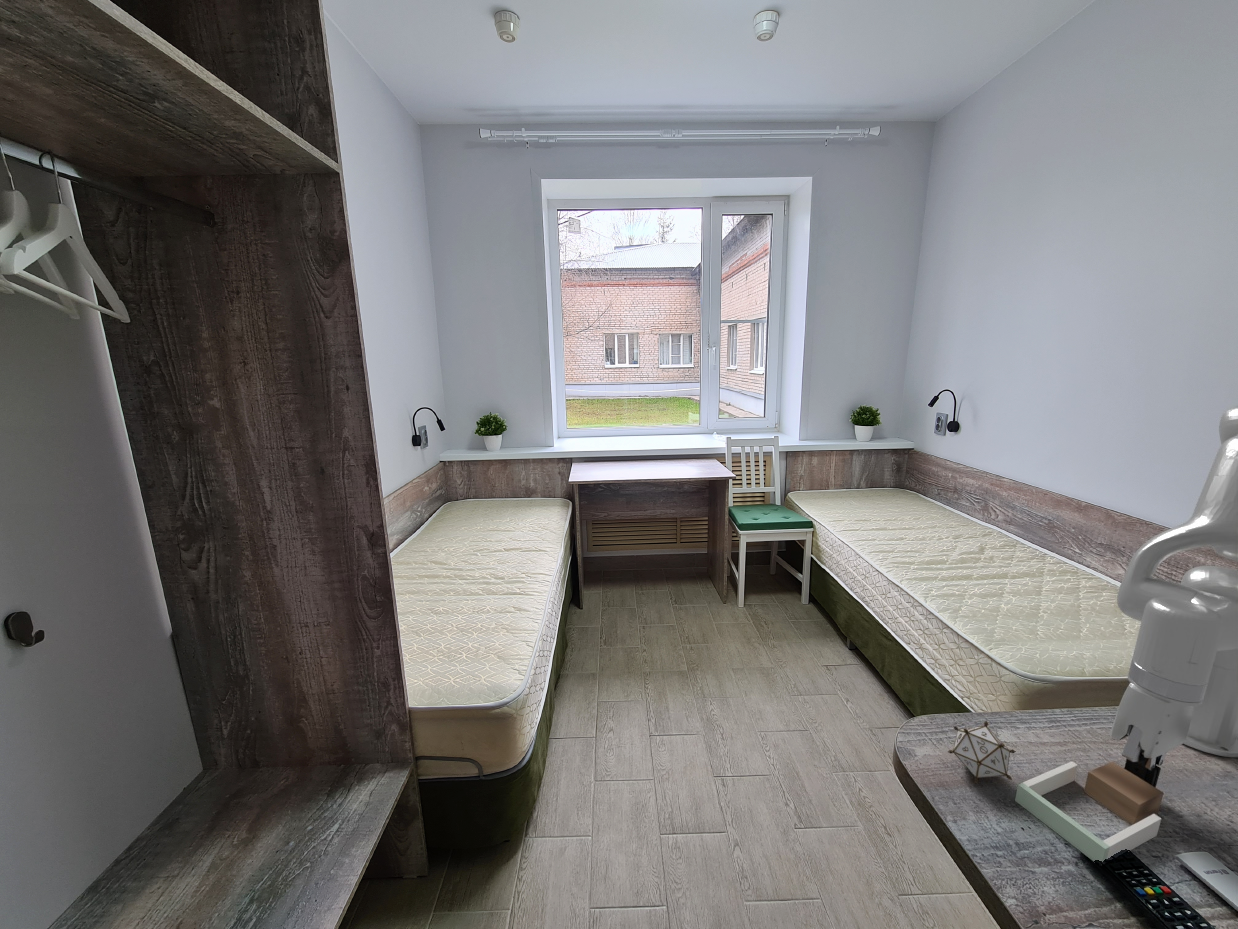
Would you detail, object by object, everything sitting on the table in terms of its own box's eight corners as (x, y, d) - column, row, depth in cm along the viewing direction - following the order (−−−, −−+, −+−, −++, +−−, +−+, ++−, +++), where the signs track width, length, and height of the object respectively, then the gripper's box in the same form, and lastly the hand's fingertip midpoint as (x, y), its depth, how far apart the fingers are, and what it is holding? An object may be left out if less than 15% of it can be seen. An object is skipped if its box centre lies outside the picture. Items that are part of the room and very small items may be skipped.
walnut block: (1107, 782, 78) (1112, 761, 77) (1157, 814, 72) (1163, 792, 71) (1083, 793, 76) (1088, 771, 75) (1133, 827, 70) (1139, 804, 69)
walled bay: (1068, 776, 78) (1071, 761, 78) (1156, 835, 69) (1161, 818, 68) (1014, 800, 74) (1018, 784, 74) (1100, 867, 65) (1105, 849, 64)
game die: (988, 798, 79) (1039, 788, 72) (937, 775, 80) (982, 763, 73) (980, 741, 85) (1025, 727, 78) (932, 720, 86) (973, 704, 79)
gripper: (1160, 656, 77) (1134, 752, 81) (1103, 676, 73) (1079, 777, 76) (1229, 685, 70) (1198, 788, 74) (1172, 709, 66) (1142, 818, 70)
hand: (1138, 782), depth 75 cm, fingers closed
